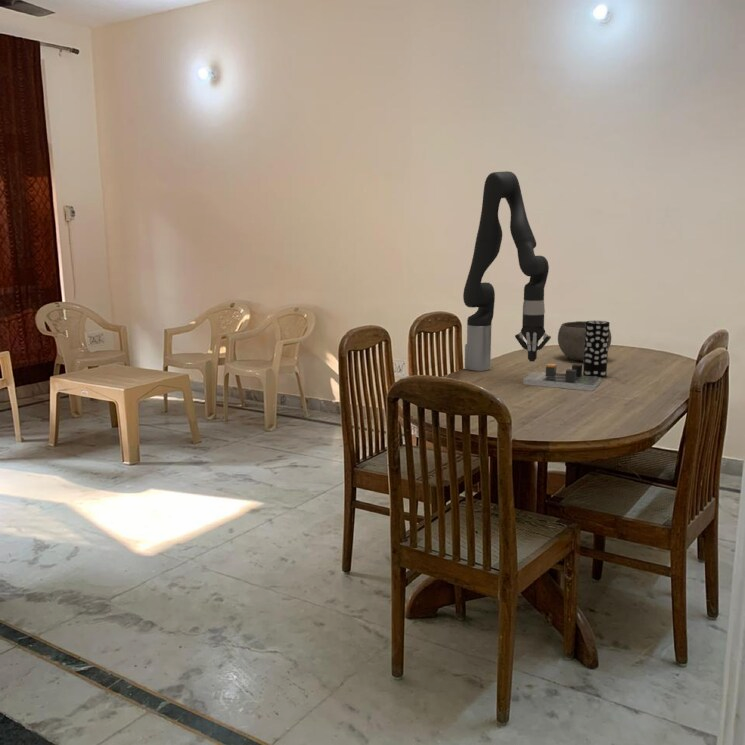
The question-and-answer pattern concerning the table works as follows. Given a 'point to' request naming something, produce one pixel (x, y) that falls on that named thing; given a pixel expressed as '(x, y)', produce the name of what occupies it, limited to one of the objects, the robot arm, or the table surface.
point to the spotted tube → (596, 348)
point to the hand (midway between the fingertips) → (532, 361)
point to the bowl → (574, 339)
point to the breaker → (551, 370)
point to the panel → (564, 379)
